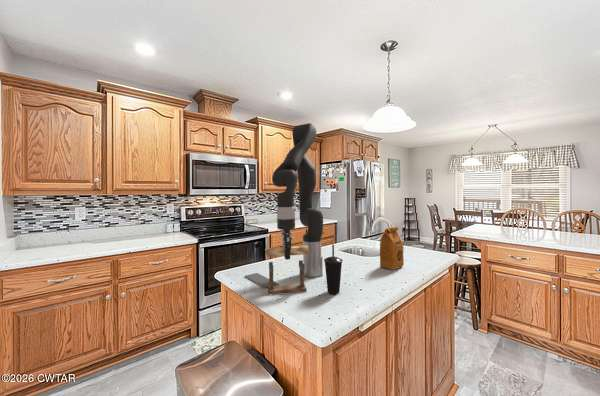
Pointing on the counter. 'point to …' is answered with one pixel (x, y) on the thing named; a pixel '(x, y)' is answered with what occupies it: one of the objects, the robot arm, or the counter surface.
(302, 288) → the rack
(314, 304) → the counter surface
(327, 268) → the drinking cup
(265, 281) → the grey flat plank
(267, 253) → the rail
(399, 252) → the coffee package
